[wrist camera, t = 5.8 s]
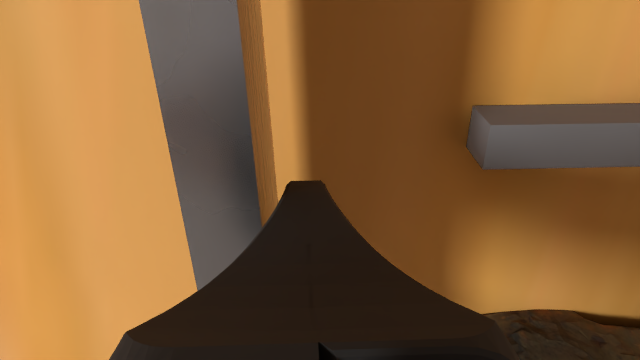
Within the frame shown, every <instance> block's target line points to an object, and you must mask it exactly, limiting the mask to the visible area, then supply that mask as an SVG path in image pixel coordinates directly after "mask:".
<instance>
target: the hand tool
mask: <svg viewBox="0 0 640 360" xmlns="http://www.w3.org/2000/svg"><path fill="white" fill-rule="evenodd" d="M484 316H486V317H488V318H490V319H493V320H495V321H496V323H497V324H498V326H499V327H500V329H501V330H502V332H503V333H504V335H505V336H506V338H507V339H508V341H509V342H510V344H511V345H512V347H513V349H514V350H515V352H516V354H517V355H518V357H519V359H520V360H640V328H633V327H623V326H612V325H601V324H599V323H596V322H594V321H591V320H588V319H585V318H582V317H581V316H580V315H579V314H577V313H576V312H575V311H569V310H524V311H510V312H500V313H493V314H485V315H484Z"/></svg>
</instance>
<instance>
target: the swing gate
mask: <svg viewBox="0 0 640 360" xmlns="http://www.w3.org/2000/svg"><path fill="white" fill-rule="evenodd" d="M139 4H140V9H141V14H142V18H143V23H144V28H145V33H146V38H147V43H148V48H149V53H150V58H151V63H152V68H153V73H154V78H155V83H156V88H157V92H158V97H159V102H160V107H161V112H162V117H163V122H164V127H165V132H166V137H167V142H168V147H169V152H170V157H171V162H172V167H173V171H174V176H175V181H176V186H177V191H178V196H179V201H180V206H181V211H182V216H183V221H184V226H185V231H186V236H187V241H188V245H189V250H190V255H191V260H192V265H193V270H194V275H195V280H196V285H197V290H200V289H201V288H203V287H204V286H205V285H207V284H208V283H209V282H210V281H212V280H213V279H214V278H215V277H217V276H218V275H219V274H220V273H221V272H222V271H223V270H225V269H226V268H227V267H228V266H229V265H230V264H231V263H232V262H233V261H234V260H235V259H236V258H237V257H238V256H239V255H240V254H241V253H242V252H243V251H244V250H245V249H246V247H247V246H248V245H249V244H250V243H251V242H252V240H253V239H254V238H255V236H256V235H257V234H258V233H259V231H260V230H261V229H262V227H263V226H264V225H265V223H266V222H267V220H268V219H269V217H270V216H271V214H272V213H273V211H274V210H275V208H276V206H277V205H278V197H277V186H276V175H275V163H274V152H273V141H272V129H271V118H270V107H269V96H268V84H267V73H266V62H265V50H264V39H263V28H262V17H261V5H260V0H139Z"/></svg>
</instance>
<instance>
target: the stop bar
mask: <svg viewBox="0 0 640 360" xmlns="http://www.w3.org/2000/svg"><path fill="white" fill-rule="evenodd" d="M466 147H467V149H468V150H469V151H470V153H471V154H472V156H473V157H474V158H475V160H476V161H477V163H478V164H479V165H480V167H481V168H482V169H483V170H485V169H536V168H587V167H639V166H640V103H626V104H556V105H486V106H473V108H472V114H471V120H470V126H469V132H468V139H467V145H466Z"/></svg>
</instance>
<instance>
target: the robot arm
mask: <svg viewBox="0 0 640 360" xmlns="http://www.w3.org/2000/svg"><path fill="white" fill-rule="evenodd" d="M109 360H520V359H519V357H518V355H517V354H516V352H515V350H514V349H513V347H512V345H511V344H510V342H509V341H508V339H507V338H506V336H505V335H504V333H503V332H502V330H501V329H500V327H499V326H498V324H497V323H496V321H495V320H493V319H490V318H488V317H486V316H484V315H481V314H479V313H477V312H474V311H472V310H470V309H468V308H465V307H463V306H461V305H459V304H456V303H454V302H452V301H450V300H448V299H446V298H445V297H443V296H441V295H439V294H437V293H435V292H434V291H432V290H430V289H428V288H427V287H425V286H423V285H422V284H420V283H418V282H417V281H415V280H414V279H412V278H411V277H409V276H408V275H406V274H405V273H403V272H402V271H401V270H399V269H398V268H396V267H395V266H394V265H392V264H391V263H390V262H388V261H387V260H386V259H385V258H384V257H383V256H381V255H380V254H379V253H378V252H377V251H376V250H375V249H374V248H373V247H372V246H371V245H370V244H369V243H368V242H367V241H366V240H365V239H364V238H363V237H362V236H361V235H360V234H359V233H358V232H357V231H356V229H355V228H354V227H353V226H352V225H351V223H350V222H349V221H348V220H347V218H346V217H345V216H344V214H343V213H342V212H341V210H340V209H339V208H338V206H337V205H336V203H335V202H334V200H333V199H332V197H331V195H330V194H329V192H328V190H327V188H326V186H325V184H324V183H323V182H322V181H290V182H289V183H288V184H287V185H286V188H285V191H284V193H283V195H282V197H281V199H280V201H279V203H278V205H277V206H276V208H275V210H274V211H273V213H272V214H271V216H270V217H269V219H268V220H267V222H266V223H265V225H264V226H263V227H262V229H261V230H260V231H259V233H258V234H257V235H256V236H255V238H254V239H253V240H252V242H251V243H250V244H249V245H248V246H247V247H246V249H245V250H244V251H243V252H242V253H241V254H240V255H239V256H238V257H237V258H236V259H235V260H234V261H233V262H232V263H231V264H230V265H229V266H228V267H227V268H226V269H225V270H223V271H222V272H221V273H220V274H219V275H218V276H217V277H215V278H214V279H213V280H212V281H210V282H209V283H208V284H207V285H205V286H204V287H203V288H201V289H200V290H198V291H197V292H196V293H194V294H193V295H191V296H190V297H188V298H187V299H185V300H184V301H182V302H180V303H179V304H177V305H176V306H174V307H172V308H171V309H169V310H167V311H166V312H164V313H162V314H160V315H158V316H156V317H154V318H152V319H150V320H148V321H147V322H145V323H143V324H141V325H139V326H137V327H135V328H133V329H131V330H129V331H127V332H126V333H125V334H124V335H123V337H122V339H121V341H120V342H119V344H118V346H117V347H116V349H115V351H114V352H113V354H112V356H111V357H110V359H109Z"/></svg>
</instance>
